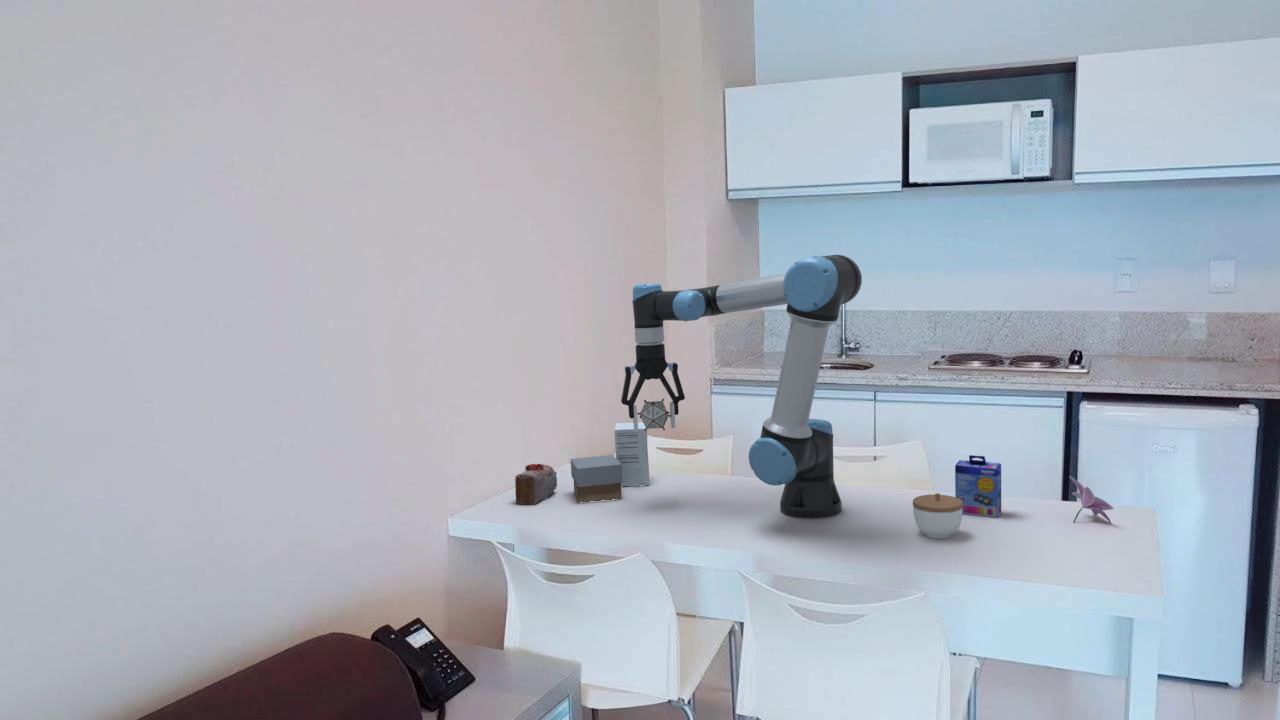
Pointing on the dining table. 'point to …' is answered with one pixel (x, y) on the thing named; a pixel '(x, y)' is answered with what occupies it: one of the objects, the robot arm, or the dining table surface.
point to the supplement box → (632, 453)
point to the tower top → (596, 470)
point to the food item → (535, 484)
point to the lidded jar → (937, 515)
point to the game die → (654, 414)
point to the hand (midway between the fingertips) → (654, 428)
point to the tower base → (597, 492)
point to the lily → (1091, 501)
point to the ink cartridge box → (979, 486)
